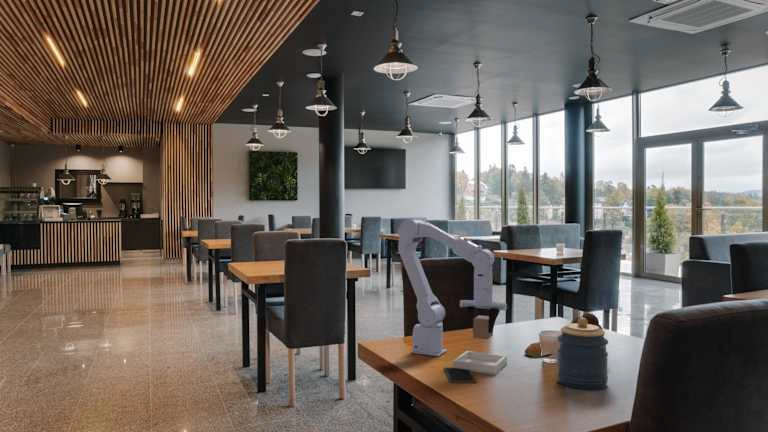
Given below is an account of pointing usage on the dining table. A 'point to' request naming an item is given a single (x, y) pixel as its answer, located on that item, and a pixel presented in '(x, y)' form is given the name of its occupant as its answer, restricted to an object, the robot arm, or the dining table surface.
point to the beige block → (481, 327)
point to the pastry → (533, 350)
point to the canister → (582, 356)
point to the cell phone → (459, 375)
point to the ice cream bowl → (589, 320)
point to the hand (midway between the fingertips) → (482, 331)
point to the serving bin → (480, 362)
